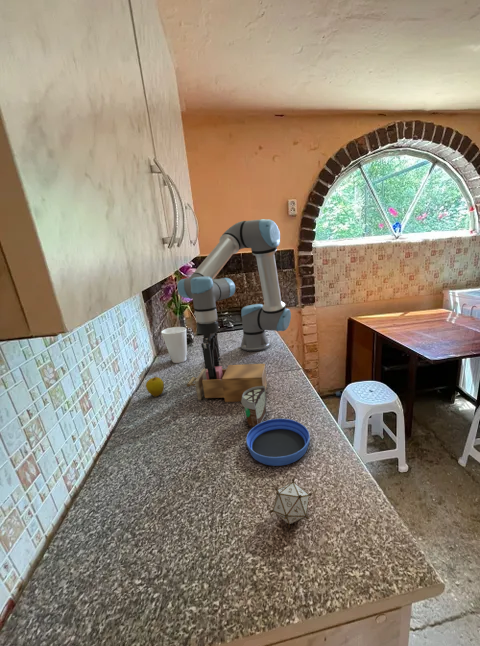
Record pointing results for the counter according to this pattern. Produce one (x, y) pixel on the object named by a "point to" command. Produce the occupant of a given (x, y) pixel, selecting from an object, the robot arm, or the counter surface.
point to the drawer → (207, 386)
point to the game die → (291, 503)
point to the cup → (176, 343)
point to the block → (218, 372)
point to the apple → (155, 386)
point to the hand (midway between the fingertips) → (215, 379)
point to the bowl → (278, 441)
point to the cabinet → (242, 380)
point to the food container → (254, 405)
